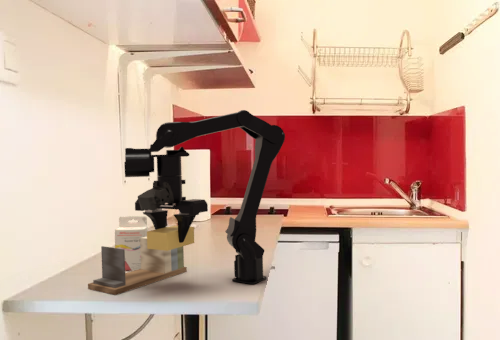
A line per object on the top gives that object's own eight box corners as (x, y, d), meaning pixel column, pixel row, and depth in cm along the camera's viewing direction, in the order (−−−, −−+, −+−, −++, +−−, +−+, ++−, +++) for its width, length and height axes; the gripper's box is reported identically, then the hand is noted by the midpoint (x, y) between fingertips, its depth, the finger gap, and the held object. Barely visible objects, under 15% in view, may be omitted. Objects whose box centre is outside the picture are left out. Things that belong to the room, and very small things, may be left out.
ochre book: (194, 243, 108) (193, 226, 108) (167, 250, 99) (166, 233, 99) (175, 241, 111) (174, 225, 111) (147, 248, 102) (146, 231, 102)
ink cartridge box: (114, 271, 122) (113, 218, 122) (119, 267, 127) (118, 216, 127) (145, 270, 123) (144, 217, 122) (149, 266, 128) (147, 215, 127)
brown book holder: (186, 271, 120) (185, 236, 120) (115, 295, 100) (114, 252, 100) (160, 267, 126) (159, 233, 125) (88, 288, 106) (86, 248, 106)
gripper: (116, 177, 103) (118, 243, 103) (175, 177, 93) (177, 251, 93) (151, 175, 112) (152, 236, 113) (208, 175, 102) (210, 242, 102)
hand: (171, 241), depth 105 cm, fingers closed on ochre book, 6 cm apart
